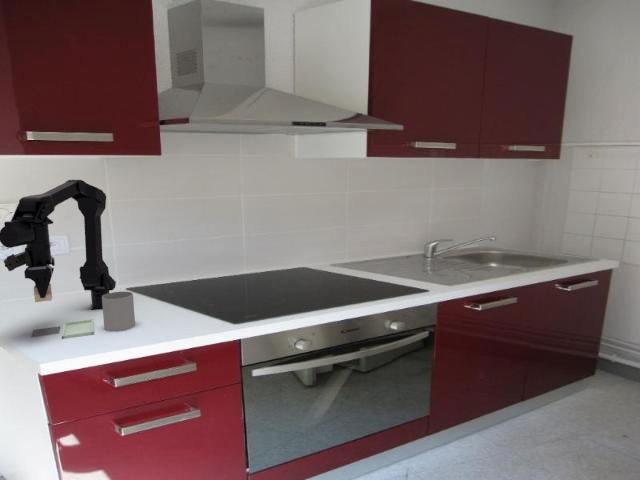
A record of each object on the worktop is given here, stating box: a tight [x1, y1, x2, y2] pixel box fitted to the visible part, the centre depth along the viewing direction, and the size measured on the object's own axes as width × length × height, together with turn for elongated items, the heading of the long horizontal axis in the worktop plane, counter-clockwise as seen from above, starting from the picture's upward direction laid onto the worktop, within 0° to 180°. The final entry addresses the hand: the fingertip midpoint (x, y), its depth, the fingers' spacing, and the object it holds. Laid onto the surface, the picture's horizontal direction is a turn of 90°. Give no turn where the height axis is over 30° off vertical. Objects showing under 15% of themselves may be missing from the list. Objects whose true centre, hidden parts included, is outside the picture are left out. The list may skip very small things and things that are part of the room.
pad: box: [30, 325, 61, 338], centre depth 143 cm, size 7×7×1 cm
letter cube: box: [33, 283, 53, 303], centre depth 142 cm, size 4×4×4 cm
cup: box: [102, 291, 136, 333], centre depth 146 cm, size 8×8×10 cm
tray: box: [61, 318, 95, 340], centre depth 145 cm, size 13×8×1 cm, turn 25°
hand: (43, 296), depth 142 cm, fingers closed on letter cube, 4 cm apart
